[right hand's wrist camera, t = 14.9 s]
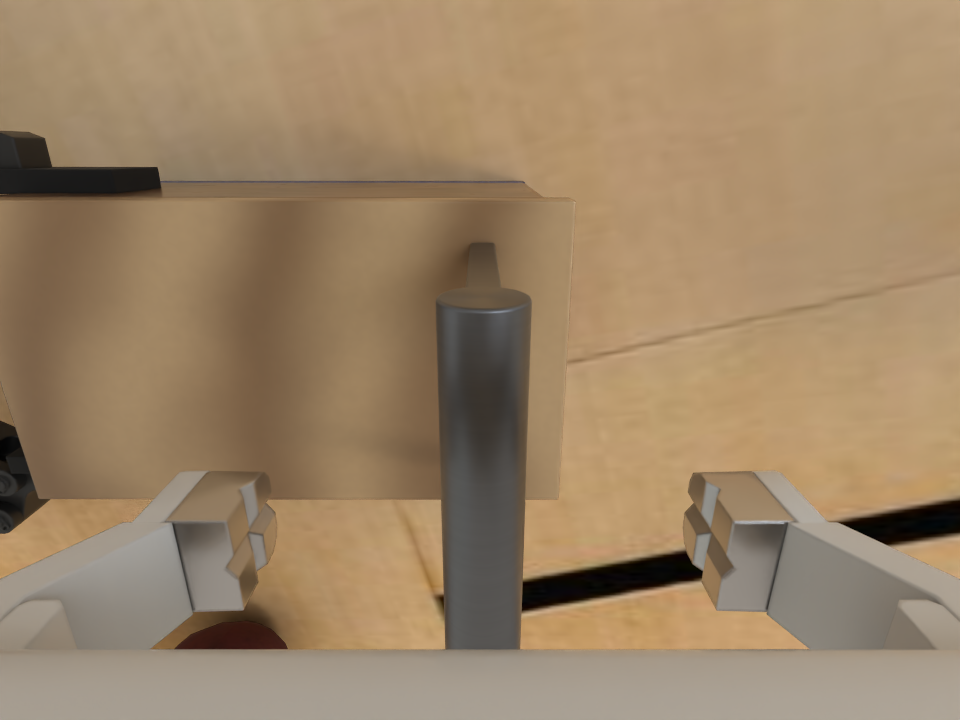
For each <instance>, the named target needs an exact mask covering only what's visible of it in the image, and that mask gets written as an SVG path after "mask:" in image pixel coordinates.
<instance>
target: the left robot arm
mask: <svg viewBox="0 0 960 720" xmlns="http://www.w3.org/2000/svg"><path fill="white" fill-rule="evenodd" d="M159 188H161V183H160V178H159V173H158V168H157V167H52V165H51V161H50V157H49V153H48V149H47V145H46V141H45V138H42V137H40V136H37V135H35V134H32V133H30V132H14V131H0V194H18V193H124V192H133V191H142V190H151V189H159ZM49 500H50V499H39V498H38V495H37V492H36V489H35V486H34V483H33V479H32V476H31V473H30V470H29V467H28V464H27V461H26V458H25V455H24V452H23V449H22V446H21V443H20V440H19V437H18V434H17V431H16V428H15V427H14V426H11V425H9V424H7V423H4V422H2V421H0V533H2V534H5V533H9V532H10V531H12V530H13V529H14V528H15V527H17V526H18V525H19V524H21V523H22V522H23V521H24V520H25V519H27V518H28V517H29V516H30V515H32V514H33V513H34V512H35V511H37V510H38V509H39V508H40V507H42V506H43V505H44V504H45V503H46V502H48V501H49Z"/></svg>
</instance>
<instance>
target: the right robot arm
mask: <svg viewBox="0 0 960 720" xmlns="http://www.w3.org/2000/svg"><path fill="white" fill-rule="evenodd" d="M271 493H272V489H271V484H270V479H269V476H268V475H267V474H266V473H265V472H246V471H209V470H206V471H183V472H179V473H178V474H177V475H176V476H175V477H174V478H173V480H172V481H171V482H170V483H169V484H168V485H167V486H166V487H165V488H164V489H163V490H162V491H161V492H160V493H159V494H158V495H157V496H156V497H155V498H154V500H153V501H152V502H151V503H150V504H149V505H148V506H147V507H146V508H145V509H144V510H143V511H142V512H141V513H140V514H139V515H138V516H137V517H136V518H135V520H134V521H133V522H123V523H120V524H118V525H116V526H114V527H112V528H110V529H107V530H105V531H103V532H101V533H99V534H97V535H94V536H92V537H90V538H88V539H86V540H84V541H81V542H79V543H77V544H75V545H73V546H71V547H68V548H66V549H64V550H62V551H60V552H58V553H55V554H53V555H51V556H49V557H47V558H45V559H42V560H40V561H38V562H36V563H34V564H32V565H29V566H27V567H25V568H23V569H21V570H19V571H16V572H14V573H12V574H10V575H8V576H6V577H3V578H1V579H0V720H960V579H958V578H956V577H954V576H952V575H950V574H948V573H945V572H943V571H941V570H939V569H937V568H935V567H932V566H930V565H928V564H926V563H924V562H922V561H919V560H917V559H915V558H913V557H911V556H909V555H907V554H904V553H902V552H900V551H898V550H896V549H894V548H891V547H889V546H887V545H885V544H883V543H881V542H878V541H876V540H874V539H872V538H870V537H868V536H865V535H863V534H861V533H859V532H857V531H855V530H852V529H850V528H848V527H846V526H844V525H842V524H840V523H837V522H827V521H826V520H825V519H824V517H823V516H822V515H821V514H820V513H819V512H818V511H817V510H816V509H815V508H814V507H813V506H812V505H811V504H810V503H809V502H808V501H807V500H806V498H805V497H804V496H803V495H802V494H801V493H800V492H799V491H798V490H797V489H796V488H795V487H794V486H793V485H792V484H791V483H790V482H789V481H788V479H787V478H786V477H785V476H784V475H783V474H782V473H780V472H778V471H775V470H768V471H742V472H702V473H693V475H692V477H691V479H690V482H689V488H688V493H689V495H690V497H691V498H692V500H693V502H694V503H693V504H692V506H691V507H690V508H689V509H688V510H687V511H686V512H685V514H684V523H683V535H684V544H685V547H686V551H687V554H688V556H689V558H690V560H691V562H692V564H693V565H695V566H696V567H698V568H699V569H701V570H702V571H703V577H702V584H703V585H704V587H705V589H706V591H707V593H708V595H709V597H710V599H711V601H712V603H713V605H714V606H715V608H716V610H717V611H752V612H767V615H768V616H770V617H771V618H772V619H773V620H775V621H776V622H777V623H778V624H779V625H781V626H782V627H783V628H784V629H786V630H787V631H788V632H789V633H791V634H792V635H793V636H794V637H796V638H797V639H798V640H799V641H801V642H802V643H803V644H804V645H806V646H807V647H808V648H809V649H569V650H534V649H151V648H152V647H153V646H155V645H156V644H157V643H158V642H160V641H161V640H162V639H163V638H165V637H166V636H167V635H168V634H169V633H171V632H172V631H173V630H174V629H176V628H177V627H178V626H179V625H181V624H182V623H183V622H184V621H186V620H187V619H188V618H189V617H191V616H192V615H193V612H207V611H242V610H244V608H245V606H246V604H247V603H248V601H249V599H250V597H251V595H252V593H253V591H254V589H255V587H256V585H257V583H258V577H257V571H258V570H259V569H261V568H262V567H264V566H265V565H267V564H268V562H269V560H270V558H271V556H272V554H273V551H274V547H275V542H276V538H277V521H276V514H275V512H274V511H273V510H272V509H271V508H270V507H269V506H268V505H267V504H266V502H267V500H268V498H269V497H270V495H271Z"/></svg>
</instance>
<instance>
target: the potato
mask: <svg viewBox="0 0 960 720" xmlns="http://www.w3.org/2000/svg"><path fill="white" fill-rule="evenodd" d="M175 649H287V646H286V644H285V642H284V641H283V640H282V639H281V638H280V637H279V636H278V635H277V634H276V633H275V632H274V631H273V630H271V629H270V628H267V627H265V626H263V625H261V624H259V623H255V622H250V621H240V622H223V623H220V624H217V625H214V626H212V627H209V628H206V629H204V630H201V631H199V632H196V633H193V634H191V635H190V636H188V637H187V638H186V639H185V640H184V641H182V642H181V643H180V644H179V645H178V646H177V647H176V648H175Z"/></svg>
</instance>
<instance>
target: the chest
mask: <svg viewBox="0 0 960 720" xmlns="http://www.w3.org/2000/svg"><path fill="white" fill-rule="evenodd" d="M160 183H161V188H159V189H151V190H142V191H133V192H124V193H18V194H7V195H0V197H112V198H543V197H542V196H541V195H539V194H538V193H537V192H535V191H534V190H533V189H531V188H530V187H529V186H527V185H526V184H525V182H523V181H160Z"/></svg>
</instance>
